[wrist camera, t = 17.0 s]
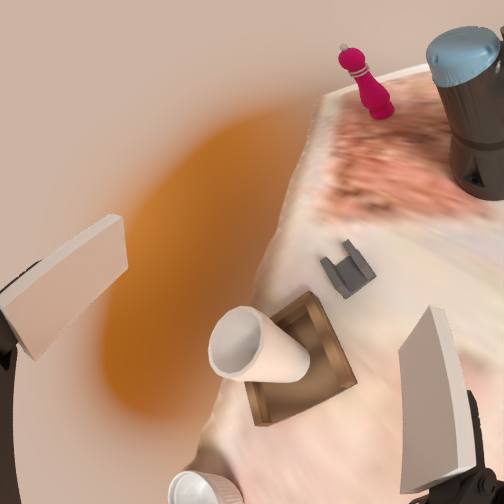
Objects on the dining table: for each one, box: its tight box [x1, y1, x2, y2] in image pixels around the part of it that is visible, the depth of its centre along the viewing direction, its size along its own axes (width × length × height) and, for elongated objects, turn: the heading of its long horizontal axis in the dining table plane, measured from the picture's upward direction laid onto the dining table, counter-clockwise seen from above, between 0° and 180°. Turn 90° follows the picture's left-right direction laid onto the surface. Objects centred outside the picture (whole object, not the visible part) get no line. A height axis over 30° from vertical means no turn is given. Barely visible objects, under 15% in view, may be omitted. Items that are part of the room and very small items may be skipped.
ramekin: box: [168, 471, 244, 504], centre depth 31 cm, size 13×13×7 cm
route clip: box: [320, 240, 376, 300], centre depth 41 cm, size 6×6×4 cm
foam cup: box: [208, 306, 310, 383], centre depth 37 cm, size 10×9×13 cm
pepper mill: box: [338, 44, 394, 120], centre depth 50 cm, size 7×7×20 cm
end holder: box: [244, 291, 358, 427], centre depth 40 cm, size 16×16×3 cm
